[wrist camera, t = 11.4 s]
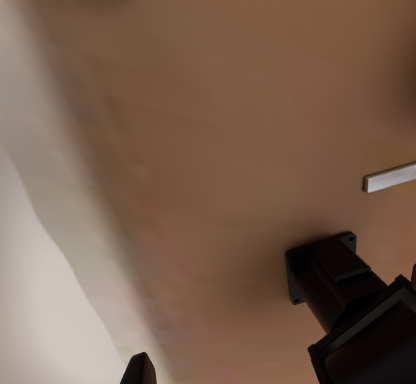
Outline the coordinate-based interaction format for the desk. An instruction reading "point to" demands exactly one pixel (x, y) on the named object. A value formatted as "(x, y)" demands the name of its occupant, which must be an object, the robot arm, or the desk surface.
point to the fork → (390, 178)
